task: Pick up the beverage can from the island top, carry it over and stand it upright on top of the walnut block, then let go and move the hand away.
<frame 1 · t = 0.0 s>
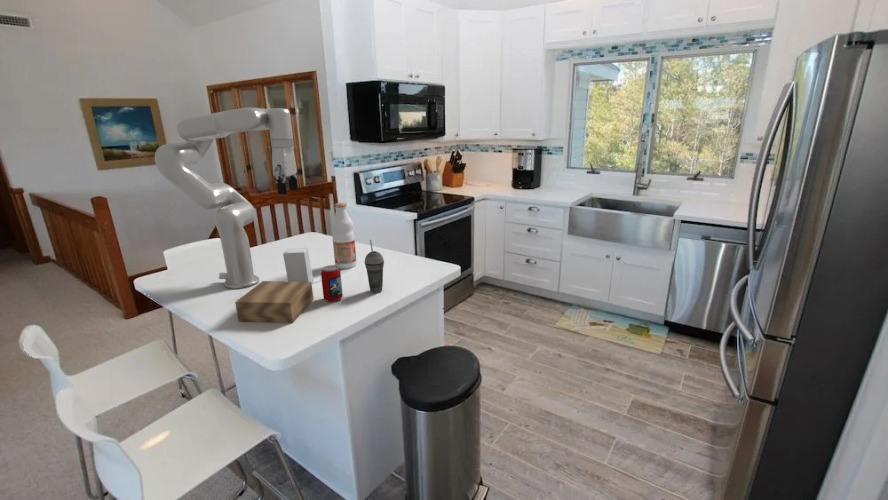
hand: (288, 191, 153), 37 cm above the countertop, tool pointing down, fingers open, 9 cm apart
beverage can: (333, 299, 149), on the countertop
fruit juice: (346, 266, 184), on the countertop
beverage cup: (376, 291, 156), on the countertop
skincare box: (300, 286, 162), on the countertop
walnut block: (278, 310, 141), on the countertop
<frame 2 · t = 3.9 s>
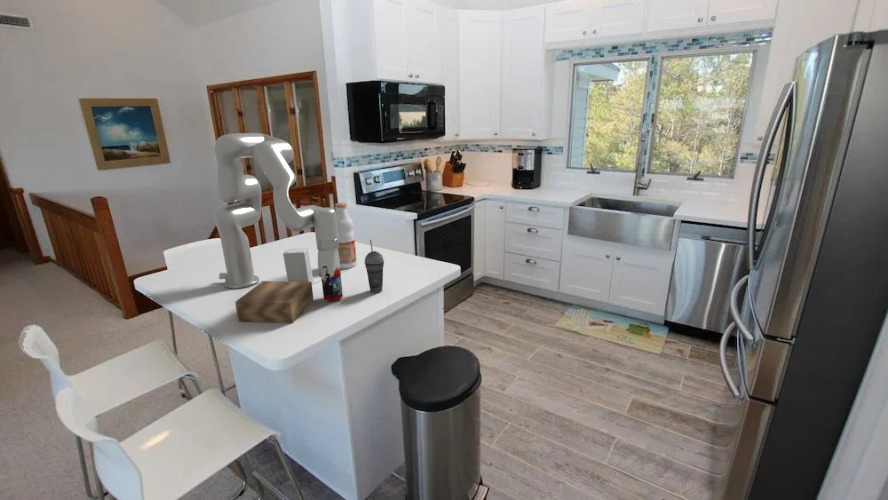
hand: (332, 290, 148), 3 cm above the countertop, tool pointing down, fingers closed on beverage can, 6 cm apart
beverage can: (333, 299, 149), on the countertop, touching gripper
everything else where it was.
when the fingers open (11 cm above the countertop, at t = 9.7 s): beverage can drops 1 cm, resting on walnut block.
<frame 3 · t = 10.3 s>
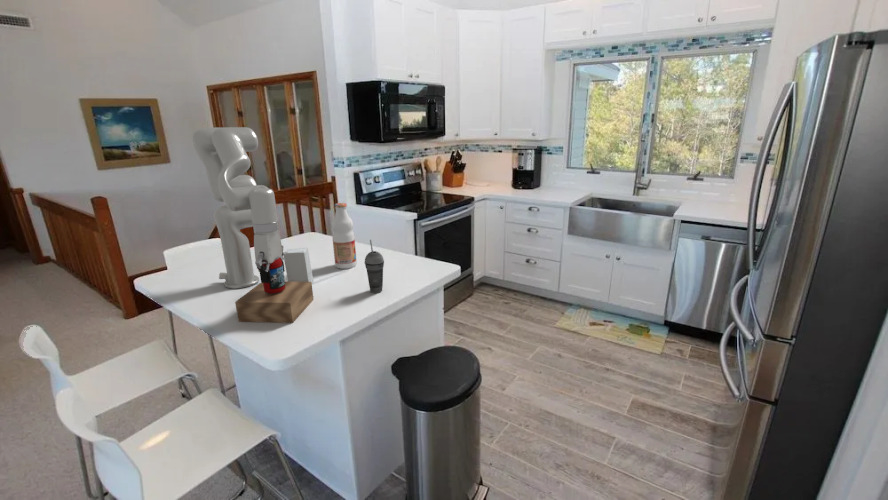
hand: (273, 277, 137), 12 cm above the countertop, tool pointing down, fingers open, 9 cm apart
beverage can: (275, 291, 139), point 7 cm above the countertop, touching walnut block
everything else where it was.
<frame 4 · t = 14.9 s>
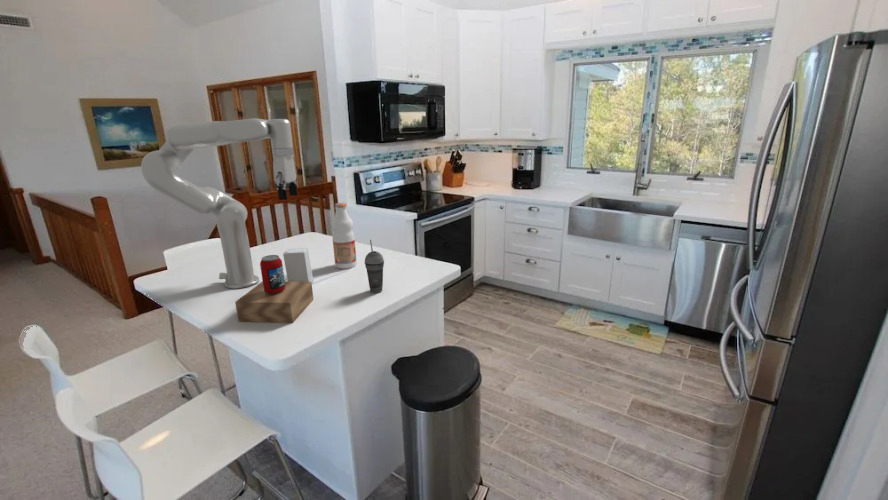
hand: (288, 197, 162), 33 cm above the countertop, tool pointing down, fingers open, 9 cm apart
nothing on the countertop moved.
at the end: beverage can inside the target area on the walnut block (0.1 cm from its centre), point 6.8 cm above the walnut block's base; beverage can tilted 0°; the gripper is holding nothing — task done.
